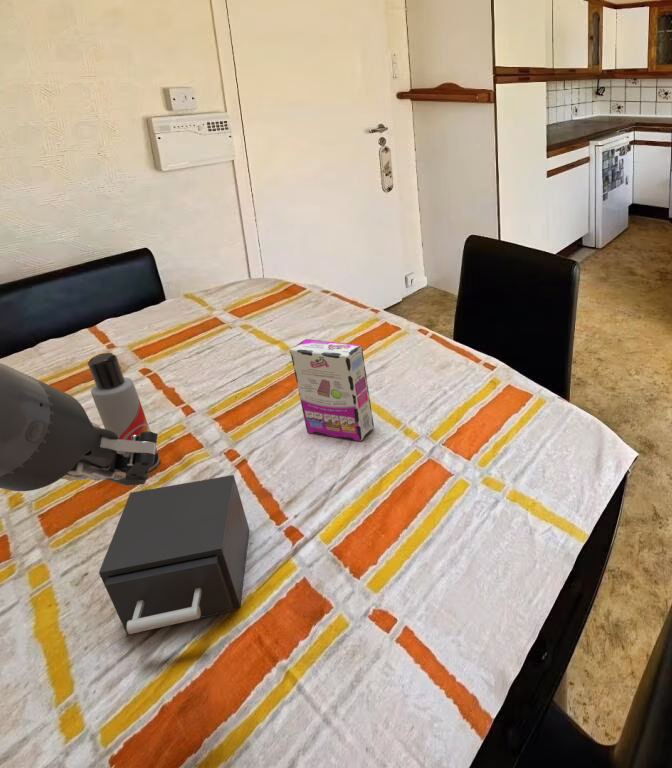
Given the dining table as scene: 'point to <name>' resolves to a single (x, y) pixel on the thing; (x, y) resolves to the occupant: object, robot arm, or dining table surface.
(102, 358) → the lotion bottle
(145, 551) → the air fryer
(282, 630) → the dining table surface
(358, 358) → the candy bar box
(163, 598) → the drawer
